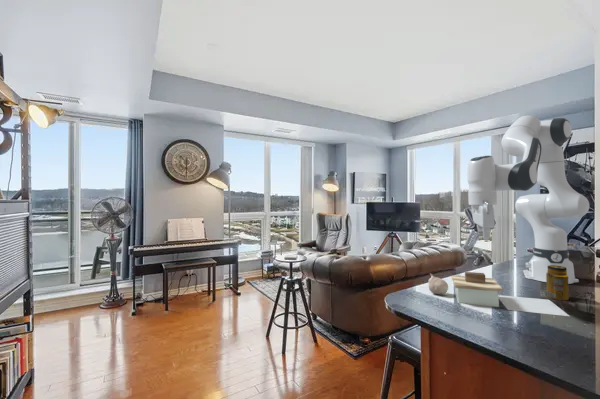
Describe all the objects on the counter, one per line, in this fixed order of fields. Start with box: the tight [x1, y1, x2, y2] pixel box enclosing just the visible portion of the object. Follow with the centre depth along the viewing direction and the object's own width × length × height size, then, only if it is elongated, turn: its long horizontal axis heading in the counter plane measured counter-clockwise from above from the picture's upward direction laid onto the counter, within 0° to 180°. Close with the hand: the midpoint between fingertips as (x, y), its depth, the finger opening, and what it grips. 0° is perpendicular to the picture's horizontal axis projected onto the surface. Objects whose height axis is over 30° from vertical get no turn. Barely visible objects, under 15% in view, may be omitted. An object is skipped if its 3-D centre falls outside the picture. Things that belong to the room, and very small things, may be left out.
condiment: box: [545, 265, 570, 301], centre depth 105 cm, size 7×8×12 cm
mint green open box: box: [454, 287, 500, 308], centre depth 105 cm, size 12×12×6 cm
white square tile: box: [499, 294, 570, 317], centre depth 99 cm, size 16×16×1 cm
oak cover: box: [451, 271, 504, 293], centre depth 105 cm, size 14×14×4 cm
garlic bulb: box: [427, 272, 449, 295], centre depth 114 cm, size 7×6×8 cm
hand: (483, 237), depth 106 cm, fingers open, 8 cm apart
